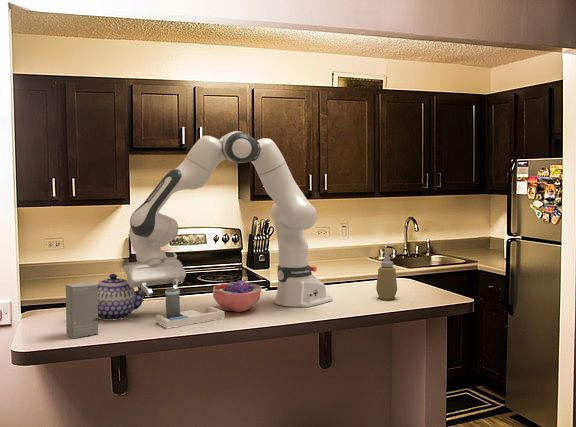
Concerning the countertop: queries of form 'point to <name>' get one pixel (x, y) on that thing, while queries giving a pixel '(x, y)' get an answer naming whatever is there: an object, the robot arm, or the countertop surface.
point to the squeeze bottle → (386, 279)
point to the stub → (172, 303)
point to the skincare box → (81, 309)
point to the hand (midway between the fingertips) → (163, 293)
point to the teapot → (117, 298)
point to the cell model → (237, 295)
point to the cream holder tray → (190, 317)
